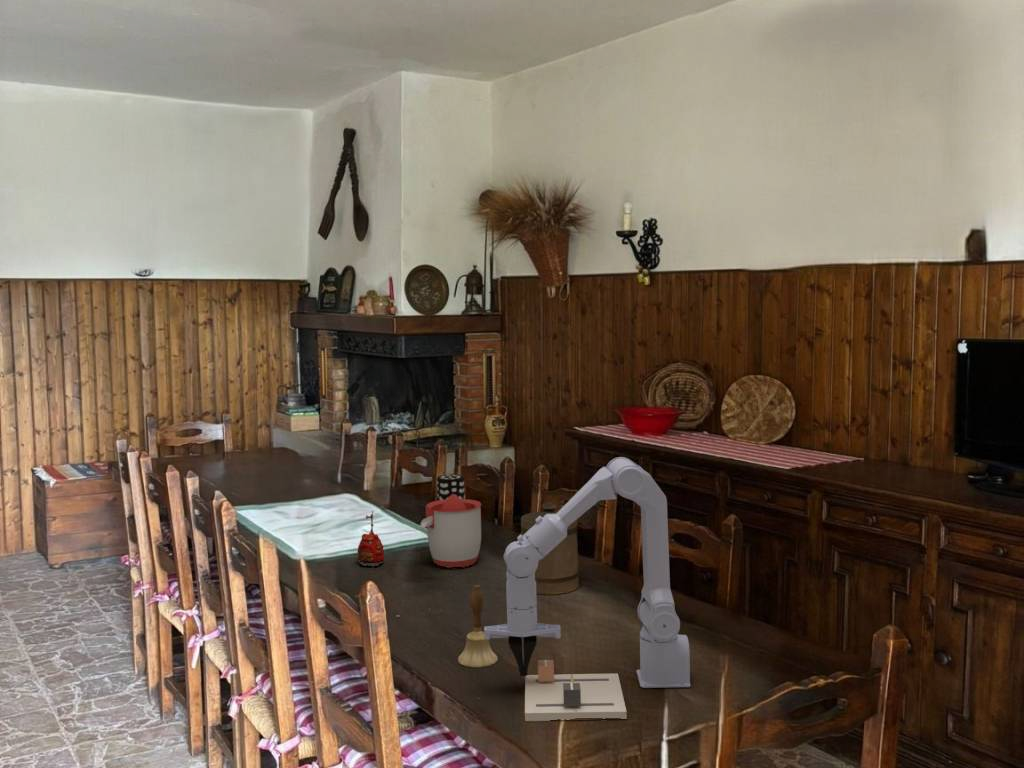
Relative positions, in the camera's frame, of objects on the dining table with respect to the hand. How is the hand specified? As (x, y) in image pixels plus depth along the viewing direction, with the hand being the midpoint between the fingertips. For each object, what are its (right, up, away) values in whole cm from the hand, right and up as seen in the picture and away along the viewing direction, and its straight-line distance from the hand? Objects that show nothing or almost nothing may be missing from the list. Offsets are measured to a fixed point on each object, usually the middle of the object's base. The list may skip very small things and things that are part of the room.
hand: (523, 673), depth 184 cm
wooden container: (+8, +3, +64) cm, 64 cm away
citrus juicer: (-19, +5, +86) cm, 89 cm away
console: (+9, -3, -5) cm, 11 cm away
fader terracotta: (+4, -1, 0) cm, 4 cm away
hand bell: (-9, -2, +15) cm, 18 cm away
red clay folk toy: (-42, +4, +88) cm, 97 cm away
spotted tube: (-20, +7, +111) cm, 113 cm away
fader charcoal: (+9, -2, -11) cm, 14 cm away
